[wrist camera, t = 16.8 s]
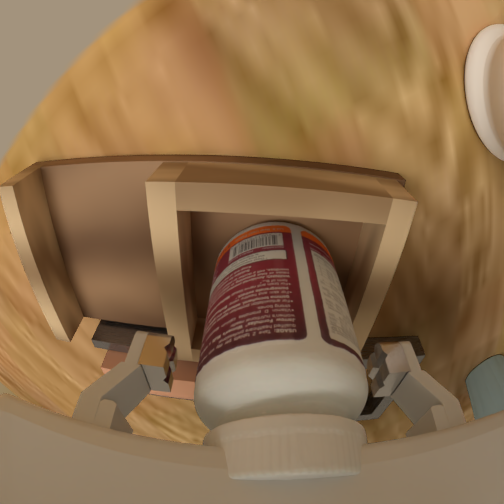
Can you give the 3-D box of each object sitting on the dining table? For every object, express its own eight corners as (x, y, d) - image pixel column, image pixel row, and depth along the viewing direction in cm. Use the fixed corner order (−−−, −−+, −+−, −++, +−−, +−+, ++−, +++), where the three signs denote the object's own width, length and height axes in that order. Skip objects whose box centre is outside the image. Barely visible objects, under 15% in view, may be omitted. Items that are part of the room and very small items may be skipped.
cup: (465, 395, 28) (488, 463, 19) (449, 380, 25) (476, 462, 17) (513, 360, 25) (543, 427, 16) (505, 338, 22) (544, 418, 14)
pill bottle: (204, 294, 17) (169, 495, 8) (236, 200, 14) (200, 457, 5) (303, 320, 18) (321, 506, 9) (352, 239, 15) (430, 458, 6)
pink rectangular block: (212, 360, 22) (207, 401, 19) (124, 349, 21) (111, 386, 19) (211, 340, 20) (205, 383, 17) (116, 329, 20) (100, 367, 17)
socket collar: (374, 401, 27) (378, 418, 25) (273, 405, 27) (273, 423, 25) (417, 335, 21) (425, 355, 19) (289, 337, 21) (290, 360, 19)
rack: (351, 326, 20) (361, 366, 17) (75, 305, 20) (56, 339, 17) (398, 173, 14) (428, 202, 11) (35, 162, 14) (-2, 187, 11)
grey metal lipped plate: (227, 398, 26) (225, 423, 24) (134, 386, 26) (127, 409, 24) (227, 325, 20) (223, 356, 18) (104, 312, 20) (91, 339, 18)
